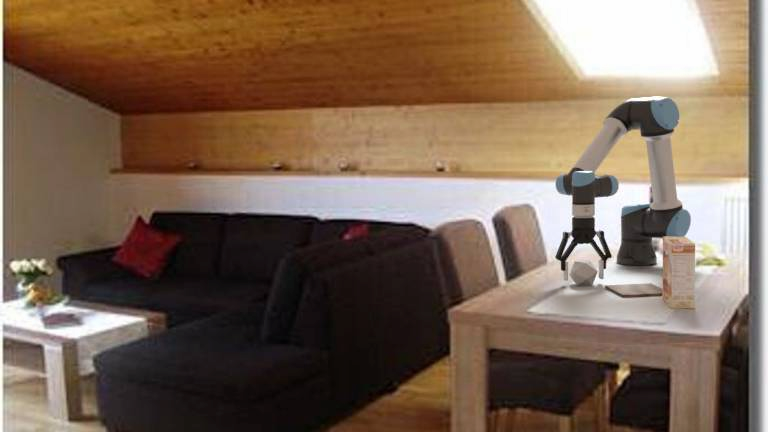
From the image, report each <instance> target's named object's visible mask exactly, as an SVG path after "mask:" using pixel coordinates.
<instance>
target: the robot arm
mask: <svg viewBox="0 0 768 432" xmlns="http://www.w3.org/2000/svg"><path fill="white" fill-rule="evenodd" d="M679 120H680V110H679V108H678V105H677V104H676V102H675V101H674V100H673V99H672V98H671V97H667V96H651V97H639V98H638V97H636V98H630V99H627V100H625V101H623V102H621V103H620V104H619V105H617V106H616V107H615V108H613V110H612V111H611V112H610V113H609V114H608V115H607V116H606V117H605V119H604V120H603V121H602V126H601V127H602V128H600V130H599V131H598V133H597V134H596V136H595V137H594V138H593V139H592V141H591V142H590V143H589V145H587V147H586V149H585V150H584V152H583V153H582V154H581V156H580V157H579V158H578V159H577V161H576V162H575V163H574V165H573V166H572V168H571V169H570V170H569V172H568V173H561V174H560V175H558V176H557V177H556V180H555V188H556V191H557V192H558V194H560V195H563V196H571V198H572V200H571V204H572V205H571V216H573V217H572V218H571V231H570V232H569V231H568V232H567V231H563V232H562V239H561V242H560V244H559V246H558V249H557V250H556V253H555V256H554V257H555V259H556V260H557V261H560V270H561V271H562V272H563V280H564V281H566V282H568V281H569V261H567V260H568V258H569V257H570V256H571V254H572V253H573V251H574V250H575V248H576V247H577V246H578V245H583V244H586V245H589V244H590V245H591V247H592V248H593V249H594V251H595V252H596V253H597V255H598V256H599V257H600V258H599V259H598V278H599V279H600V280H604V275H605V274H604V270H606V269H607V260H608V259H611V258H612V257H613V255H612V253H611V250H610V247H609V246H608V243H607V241H606V239H605V232H604V231H603V230H600V229H599V230H598V231H597V230H596V229H595V227H596V218H595V217H594V216H595V215H596V214H595V213H596V212H595V209H596V207H595V205H596V203H595V201H596V199H597V198H604V197H605V198H609V197H613V196H614V195H616V193H617V192H619V187H620V186H619V181H618V179H617V178H616V176H614V175H611V174H601V175H598V174H595V173H596V172H597V170H598V169H599V168H600V166H601V165H602V163H603V162H604V160H605V159H606V158H607V157H608V155H609V154H610V153H611V151H612V149H614V147H615V146H616V144H617V143H618V142H619V140H620V139H621V138H624V137H625V136H626V135H627V134H628V133H629V132H631V131H635V130H636V131H637V130H638V131H640V137H641V138H643V139H644V140H645V143H646V152H647V153H646V154H647V159H648V169H649V178H650V183H651V184H650V185H651V193H652V195H651V196H652V202H651V203H650V202H648V203H639V204H629V205H624V206H623V207H622V208H621V213H620V223H621V224H620V228H621V229H620V235H621V236H620V246H619V248H618V251H617V255H616V263H617V264H620V265H625V266H651V265H650V264H652V265H656V264H657V263H656V262H658V260H657V259H658V257H657V254H656V250H655V247H654V244H653V239H662V240H663V237H665V236H676V237H686V235H687V234H688V232H689V230H690V227H691V222H692V220H691V219H692V217H691V213H690V212H689V211H688V209H685V208H683V202H682V201H681V200H680V199H679V198H678V193H677V192H678V191H677V185H676V175H675V168H674V160H673V157H674V156H673V149H672V141H671V136H672V135H673V134H674V132H675V128H677V126H678V124H679ZM595 236H596V237H598V240H599V242H600V244H601V246H602V247H601V248H602V249H601V248H600V247H599V245H598V244H597V242H596V241H595V239H594V238H595ZM571 237H572V240H571V242H570V244H569V245H568V247H567V248H566V246H567V244H568V242H569V241H568V240H569V239H570V238H571ZM565 248H566V250H565ZM602 250H603V251H602ZM655 263H656V264H655Z"/></svg>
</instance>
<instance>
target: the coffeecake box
mask: <svg viewBox="0 0 768 432" xmlns="http://www.w3.org/2000/svg"><path fill="white" fill-rule="evenodd" d="M695 286H696V243H695V242H694V241H692V240H690V239H689V238H688V237H687V236H684V237H676V236H665V237H663V239H662V289H663V295H662V296H661V297H662V299H663V301H664V302H665V303H666V304H667V305H668V306H669V307H670V309H695V307H696V303H695V300H696V299H695V298H696V295H695V294H696V291H695V289H696V287H695Z"/></svg>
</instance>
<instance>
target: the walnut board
mask: <svg viewBox="0 0 768 432" xmlns="http://www.w3.org/2000/svg"><path fill="white" fill-rule="evenodd" d="M604 288H605V289H607V290H608V291H610V292H612V293H613V294H616V295H618V296H619V297H621V298H641V297H662V295H663V287H660V286H659V285H656V284H653V283H631V284H629V283H628V284H626V283H625V284H610V285H609V284H607V285H606V284H605V285H604Z"/></svg>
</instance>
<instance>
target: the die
mask: <svg viewBox="0 0 768 432" xmlns="http://www.w3.org/2000/svg"><path fill="white" fill-rule="evenodd" d="M598 273H599V270H597V268H596V267H595V266H594V264H593V262H592V261H591V260H575V261H574V262H573V265H572V267H571V270H570V273H569V276H570V278H571V279H572V281H573V282H574V283H575V285H576V286H577V287H578V286H593V285H594V282H595V279H596V277H597V274H598Z"/></svg>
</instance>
